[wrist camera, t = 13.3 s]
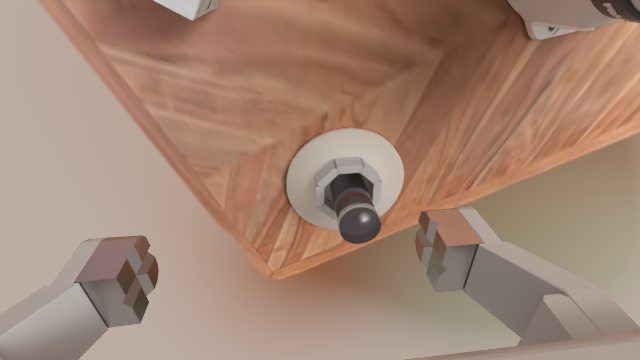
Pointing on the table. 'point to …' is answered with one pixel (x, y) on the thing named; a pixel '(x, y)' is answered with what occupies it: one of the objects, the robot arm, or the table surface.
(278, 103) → the table surface
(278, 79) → the table surface
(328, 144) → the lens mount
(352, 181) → the lens
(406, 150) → the table surface
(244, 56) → the table surface
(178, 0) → the supplement box
